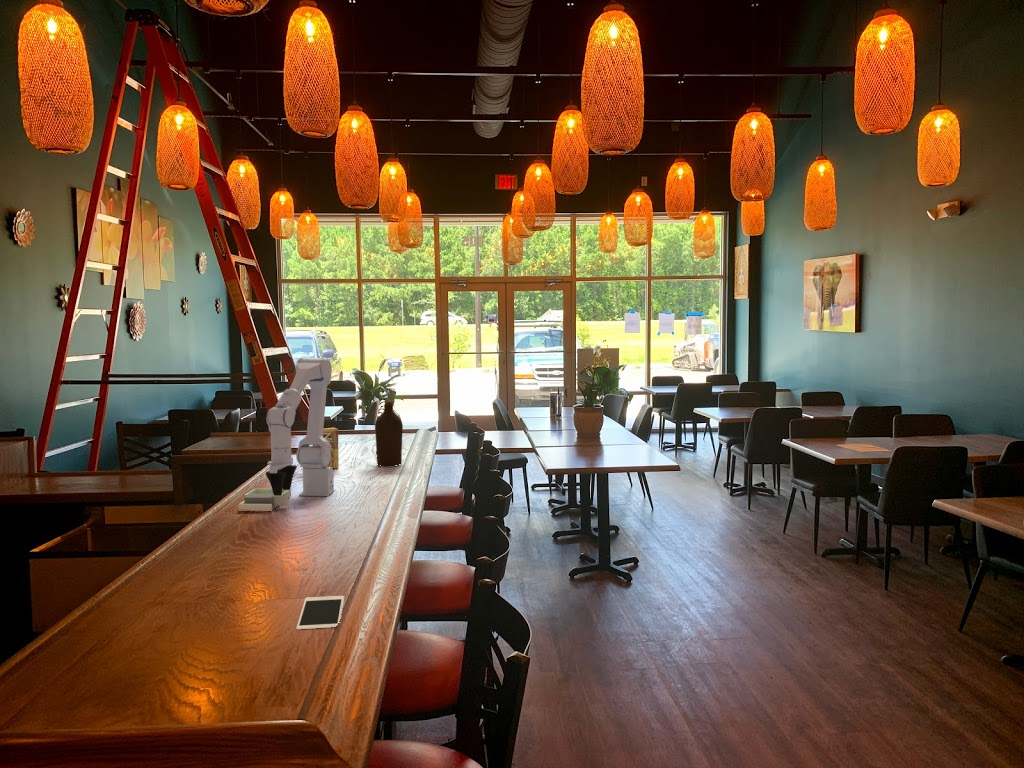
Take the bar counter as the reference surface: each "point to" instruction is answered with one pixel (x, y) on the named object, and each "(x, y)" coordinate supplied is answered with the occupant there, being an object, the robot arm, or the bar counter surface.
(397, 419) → the olive oil
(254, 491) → the tray
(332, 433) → the candy box
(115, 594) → the bar counter surface
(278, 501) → the block on a stick
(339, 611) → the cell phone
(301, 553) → the bar counter surface
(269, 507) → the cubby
